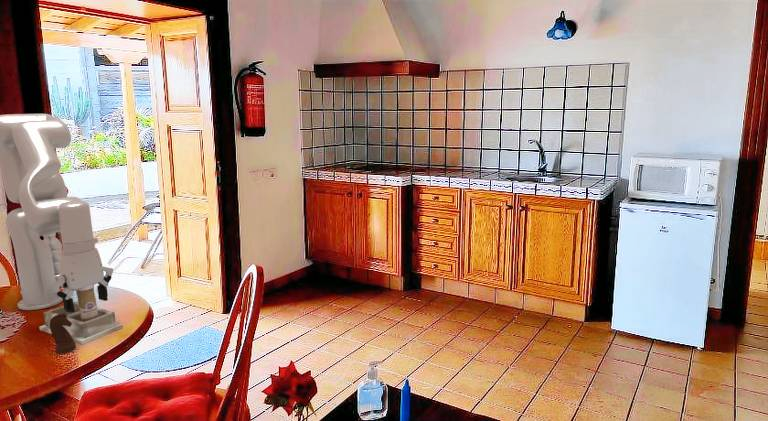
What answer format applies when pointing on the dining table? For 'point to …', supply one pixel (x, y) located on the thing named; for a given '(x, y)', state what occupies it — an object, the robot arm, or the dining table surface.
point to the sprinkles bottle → (87, 303)
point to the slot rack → (84, 324)
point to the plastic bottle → (54, 252)
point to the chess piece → (62, 334)
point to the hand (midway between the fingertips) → (87, 305)
